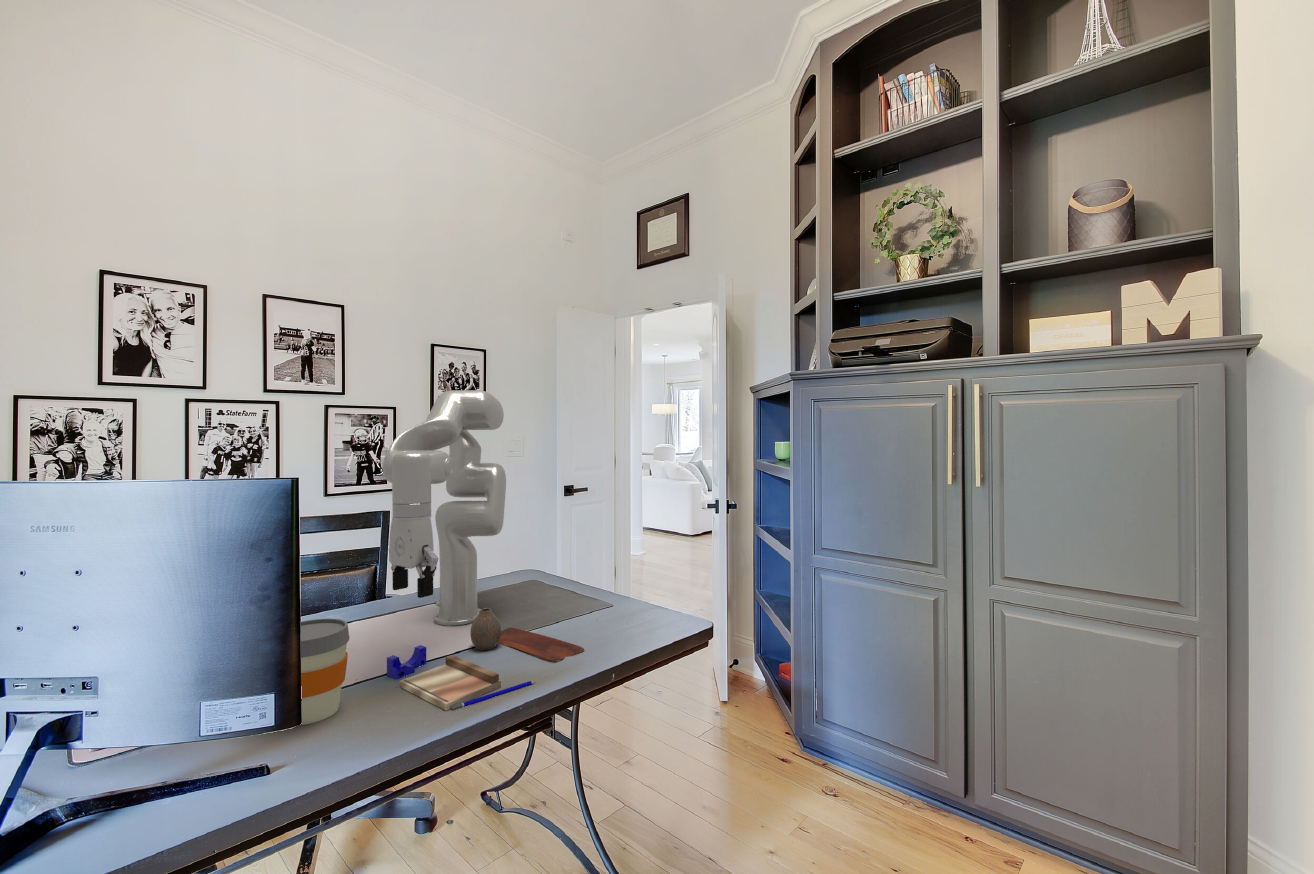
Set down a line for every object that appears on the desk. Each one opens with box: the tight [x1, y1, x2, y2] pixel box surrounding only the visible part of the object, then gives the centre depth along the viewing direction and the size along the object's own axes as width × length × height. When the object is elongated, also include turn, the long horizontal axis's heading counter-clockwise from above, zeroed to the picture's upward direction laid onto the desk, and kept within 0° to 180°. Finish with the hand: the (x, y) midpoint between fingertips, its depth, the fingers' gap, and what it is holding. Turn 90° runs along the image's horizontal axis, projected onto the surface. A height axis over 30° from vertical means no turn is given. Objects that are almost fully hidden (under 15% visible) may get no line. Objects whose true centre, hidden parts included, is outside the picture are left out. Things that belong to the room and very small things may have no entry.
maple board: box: [399, 654, 502, 712], centre depth 112 cm, size 16×12×3 cm
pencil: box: [450, 680, 536, 712], centre depth 108 cm, size 17×1×1 cm, turn 131°
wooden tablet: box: [498, 627, 585, 664], centre depth 135 cm, size 27×10×2 cm, turn 52°
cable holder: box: [386, 644, 427, 680], centre depth 120 cm, size 8×4×4 cm, turn 149°
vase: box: [469, 607, 502, 651], centre depth 133 cm, size 7×7×9 cm
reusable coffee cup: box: [300, 618, 350, 726], centre depth 102 cm, size 12×13×15 cm
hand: (412, 592), depth 120 cm, fingers open, 9 cm apart
